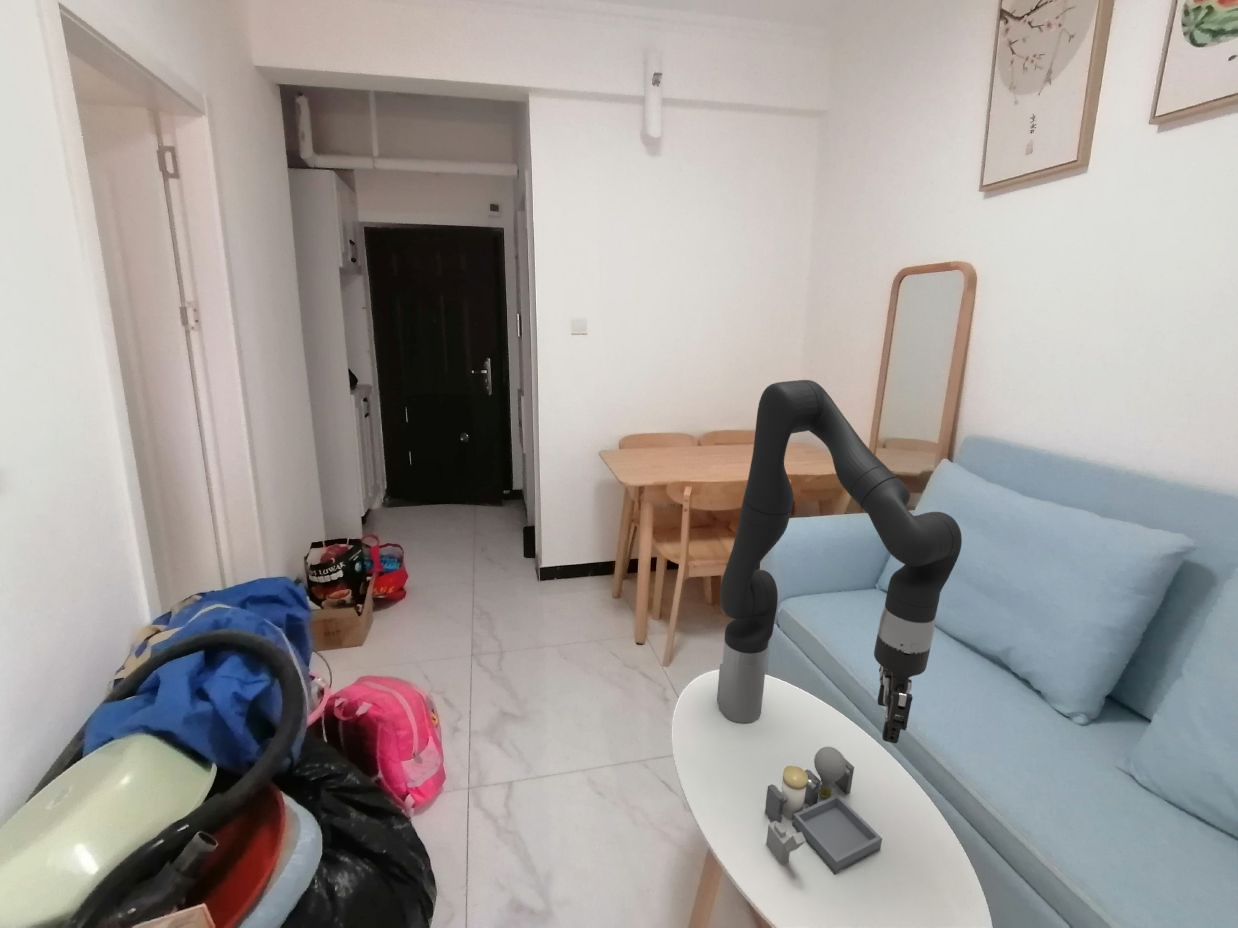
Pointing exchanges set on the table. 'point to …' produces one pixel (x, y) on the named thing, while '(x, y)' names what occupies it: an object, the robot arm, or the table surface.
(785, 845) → the lighter
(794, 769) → the cream domed cylinder
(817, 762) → the light bulb
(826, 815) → the tray
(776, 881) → the table surface
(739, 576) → the robot arm
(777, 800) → the clip block
